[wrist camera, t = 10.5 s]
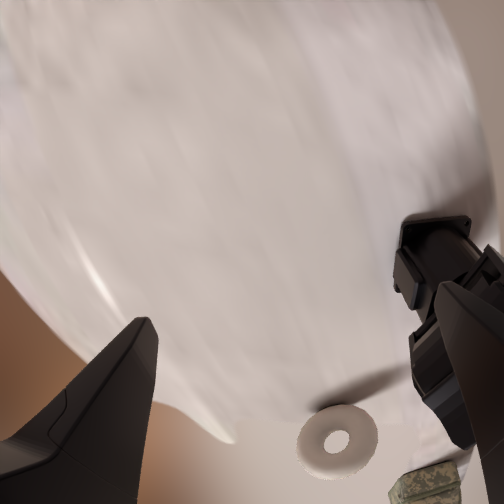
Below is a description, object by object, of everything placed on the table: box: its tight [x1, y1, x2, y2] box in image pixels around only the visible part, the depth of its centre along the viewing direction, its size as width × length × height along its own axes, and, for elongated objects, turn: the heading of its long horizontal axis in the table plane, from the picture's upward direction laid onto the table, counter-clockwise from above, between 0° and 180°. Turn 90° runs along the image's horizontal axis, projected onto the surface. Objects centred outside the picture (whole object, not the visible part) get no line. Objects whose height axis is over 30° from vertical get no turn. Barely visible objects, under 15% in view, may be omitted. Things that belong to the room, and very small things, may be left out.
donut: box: [296, 404, 378, 480], centre depth 32 cm, size 10×3×10 cm, turn 120°
